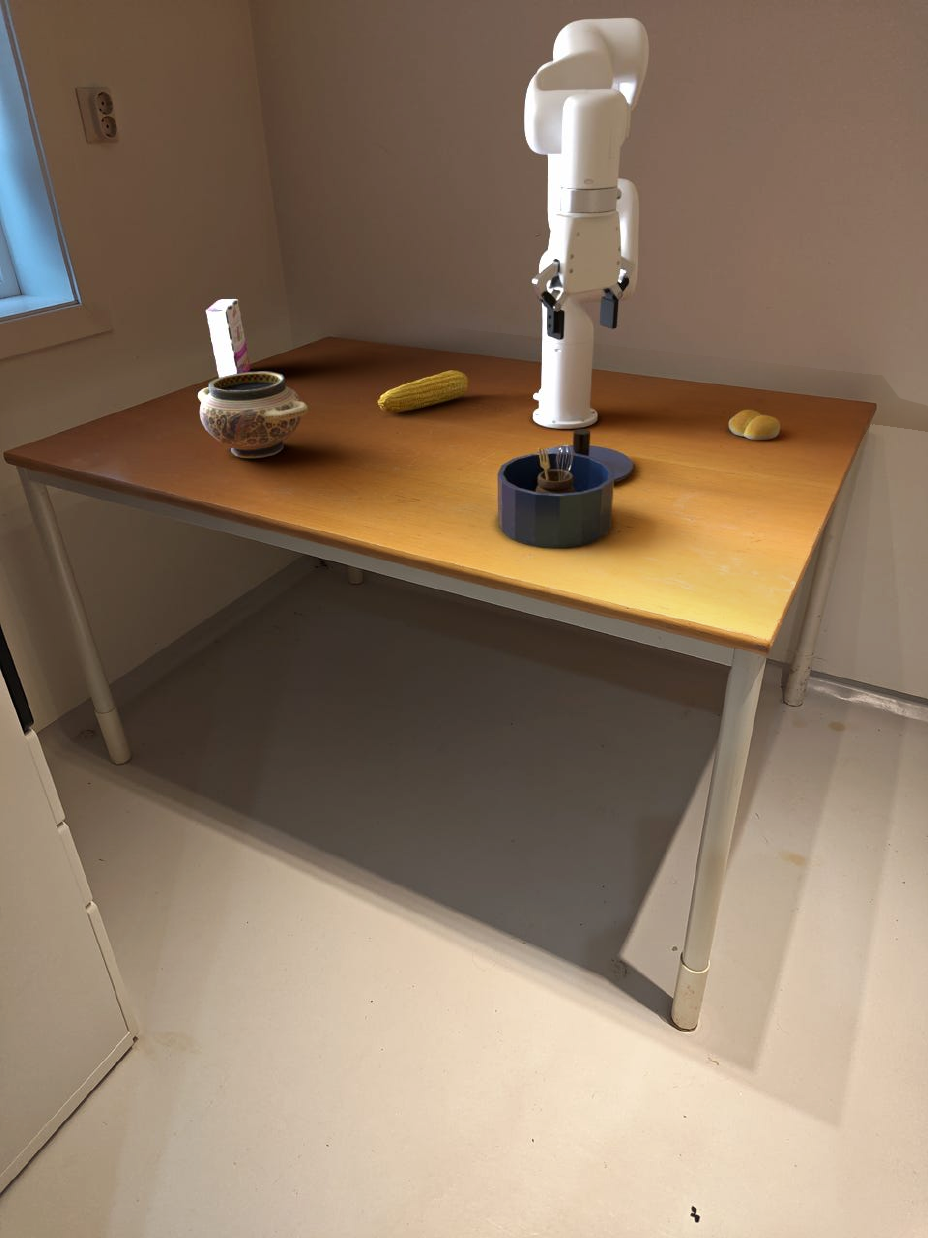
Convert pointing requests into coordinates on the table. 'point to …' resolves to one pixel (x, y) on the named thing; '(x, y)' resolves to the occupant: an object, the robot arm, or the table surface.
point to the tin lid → (598, 454)
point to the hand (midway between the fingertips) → (582, 332)
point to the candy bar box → (228, 337)
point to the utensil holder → (554, 477)
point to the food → (424, 392)
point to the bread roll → (754, 425)
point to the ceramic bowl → (251, 412)
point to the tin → (555, 501)
